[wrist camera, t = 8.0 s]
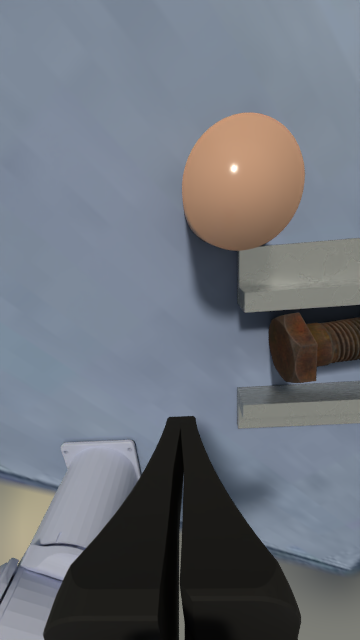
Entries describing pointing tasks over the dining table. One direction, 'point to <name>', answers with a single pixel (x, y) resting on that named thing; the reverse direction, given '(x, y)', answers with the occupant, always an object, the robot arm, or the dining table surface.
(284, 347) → the bolt
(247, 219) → the tan rounded block
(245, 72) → the dining table surface
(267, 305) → the bracket
